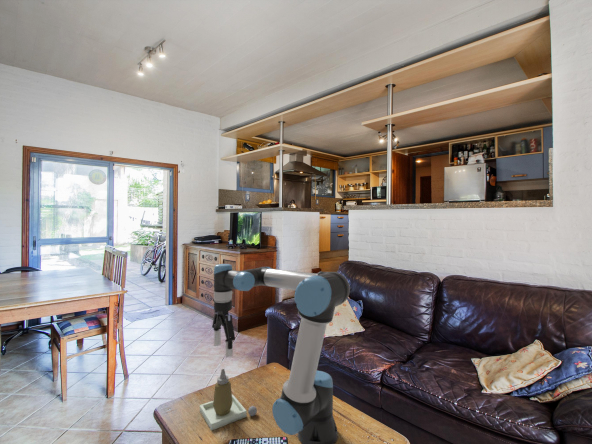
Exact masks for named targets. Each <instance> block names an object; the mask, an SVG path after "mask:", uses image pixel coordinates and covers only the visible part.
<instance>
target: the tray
mask: <svg viewBox="0 0 592 444" xmlns="http://www.w3.org/2000/svg"><path fill="white" fill-rule="evenodd" d="M213 401H214V400H211V401H209V402H205V403H202V404H199V413H200V414H201V415H202V418H203V419H204V421H205V423H206V424H207V425H208V428H209V429H210V431H211V432H212V431H213V430H216V429H219V428H221V427H224V426H226V425H228V424H229V425H230V424H232V423H234V422H236V421H239V420H242V419H245V418H247V414H248V410H247V409H246V408H245V407H244V406H243V405H242V403H241V402H240V401H239V400H238V398H237V397H236V396H235V395H234V394H233V393H232V406H231V409H230V412H229V413H228V414H227V415H224V416H218V415H217V414H216V412H215V410H214V407H213Z"/></svg>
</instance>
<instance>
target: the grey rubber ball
mask: <svg viewBox="0 0 592 444" xmlns="http://www.w3.org/2000/svg"><path fill="white" fill-rule="evenodd" d="M257 412H258V411H257V407H256V406H254V405H250V406H249V407H248V410H247V414H248V415H249V416H250V417H253V416H256V414H257Z"/></svg>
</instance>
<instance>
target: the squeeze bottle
mask: <svg viewBox="0 0 592 444" xmlns="http://www.w3.org/2000/svg"><path fill="white" fill-rule="evenodd" d="M219 375H220V376H218V377H217V379H216V381H217V382H216V383H215V385H214V392H213V393H214V394H213V400H212V401H213V407H214V410H215V412H216V414H217V415H218V416H224V415H227V414H228V413H229V412H230V409H231V406H232V394H233V393H232V384H231V381H229V376H228V375H226V371H225V368H222V369H221V370H220V374H219Z"/></svg>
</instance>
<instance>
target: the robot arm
mask: <svg viewBox="0 0 592 444" xmlns="http://www.w3.org/2000/svg"><path fill="white" fill-rule="evenodd" d="M259 286H264V287H272V288H277V289H278V288H279V289H285V290H290V291H295V292H294V303H295V304H296V308H297V314H298V316H299V317H300V323H299V329H298V333H297V338H296V341H295V342H296V343H295V347H294V352H293V358H292V363H291V367H290V373H289V378H288V379H286V381H284V382H283V385H282V389H281V390H282V391H281V394H280V397H279V398H277V399H276V400H275V401H274V402H273V404H272V408H271V409H272V411H271V412H272V416H273V419H274V420H275V423H276V425H277V426H278V428H279V429H280V430H281V431H282V432H283V433H285V434H286V435H288V436H295V435H297V438H298V440H299V442H300V443H301V444H335V443H336V442H337V441H338V427H337V424H336V421H335V417H334V411H333V410H334V409H333V408H334V407H333V406H334V405H333V403H334V392H333V391H334V384H333V378H332V376H331V375H330V374H329V373H327V372H325V371H322V370H318V366H319V362H320V361H319V360H320V357H321V353H322V347H323V343H324V338H325V335H326V330H327V329H326V327H327V325H328V324H330V323H332V321H333V319H334V313H335V309H336V308H337V307H338V306H340V305H342V304H344V303H345V302H346V301H347V300H348V298H349V296H350V293H351V292H350V291H351V287H350V282H349V281H348V279H347V277H346V276H345V275H343V274H341V273H340V272H336V271H319V272H317V273H315V272H314V273H313V272H306V271H298V270H297V271H296V270H288V269H287V270H286V269H277V268H272V267H270V266H261V267H257V268H250V269H244V270H236V269H235V270H234V269H233V266H232V264H231V263H220V264H219V263H218V264H216V265H214V267H213V301H214V302H213V311H214V316H213V318H212V319H213V320H212V324H211V325H212V326H211V328H212V329H213V346H214V347H218V346H221V345H222V344H221V339H222V336H221V334H222V333H221V329H222V327H223V331H224V335H225V340H224V342H225V358H231V357H234V356H233V355H234V354H233V350H234V349H233V341H235V340H236V337H235V336H236V335H235V330H234V323H233V315H232V314H229V312H231V310H232V308H233V301H232V299H233V294H234V292H233V290H236V291H240V292H243V291H244V292H249V291H250V290H251V289H253V288H254V287H259Z"/></svg>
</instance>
